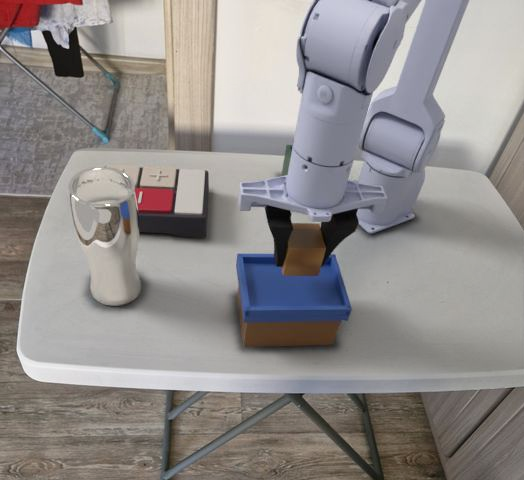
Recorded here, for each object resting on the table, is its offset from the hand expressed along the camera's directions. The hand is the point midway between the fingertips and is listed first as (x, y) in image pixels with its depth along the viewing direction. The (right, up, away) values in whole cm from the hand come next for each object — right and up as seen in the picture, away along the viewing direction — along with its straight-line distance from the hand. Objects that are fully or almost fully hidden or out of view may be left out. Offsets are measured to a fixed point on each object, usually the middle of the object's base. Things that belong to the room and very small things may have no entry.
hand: (298, 260), depth 58 cm
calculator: (-20, +10, +18) cm, 28 cm away
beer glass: (-22, -2, +7) cm, 23 cm away
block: (0, 0, 0) cm, 0 cm away
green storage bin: (+3, +15, +25) cm, 29 cm away
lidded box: (-1, -6, +7) cm, 10 cm away
